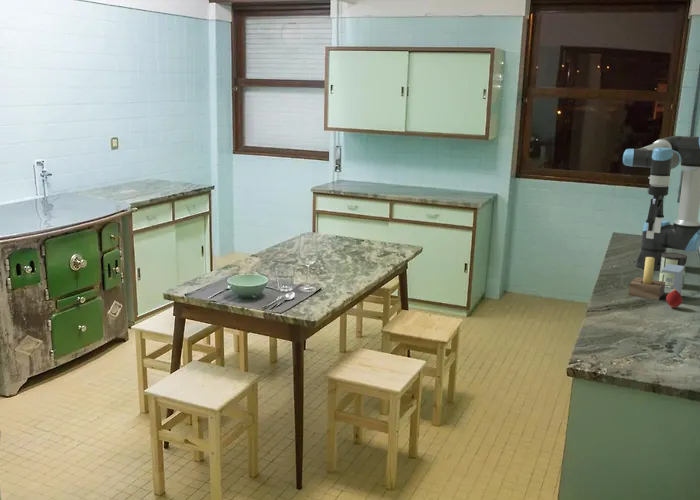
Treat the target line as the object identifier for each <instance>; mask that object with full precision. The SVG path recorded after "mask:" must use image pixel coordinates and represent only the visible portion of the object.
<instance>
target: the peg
mask: <svg viewBox="0 0 700 500" xmlns="http://www.w3.org/2000/svg"><path fill="white" fill-rule="evenodd" d="M654 262H655V258H653V257H646V259H645V267H644V268H643V284H649V285H652V280H654V279H653V278H654V271H655V270H654Z"/></svg>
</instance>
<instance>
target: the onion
mask: <svg viewBox="0 0 700 500" xmlns="http://www.w3.org/2000/svg"><path fill="white" fill-rule="evenodd" d="M665 301H666V303H667V304H668V306H670V307H671V308H672V309H675V308H678V307H680V305H681V304H682V303H683V297H682V293H681V294H680V293H679V292H678V291H677V290H676V289H673V288H672V291H670V292H669V293H668V294H667V295H666V298H665Z"/></svg>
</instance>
